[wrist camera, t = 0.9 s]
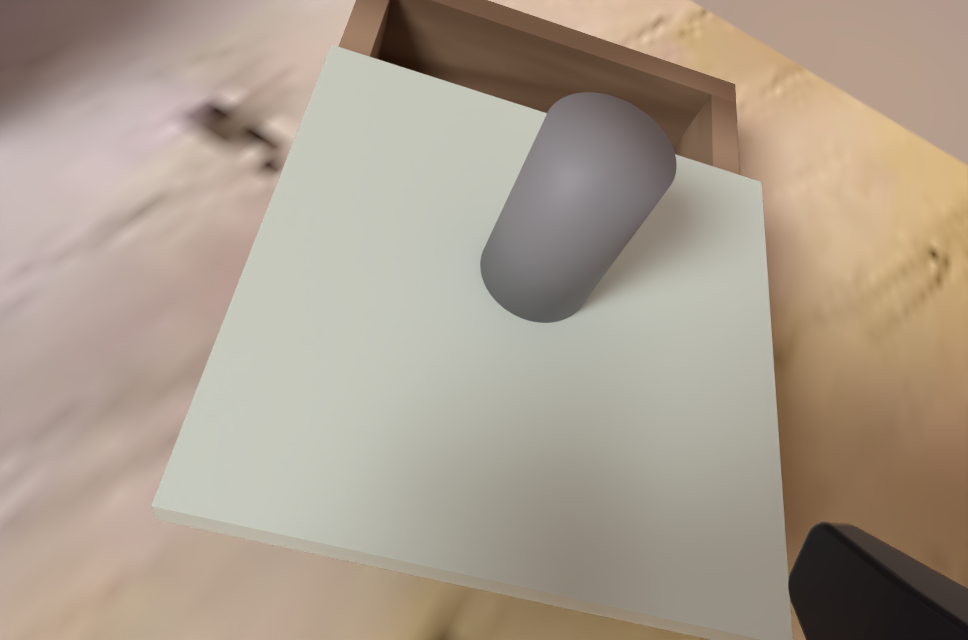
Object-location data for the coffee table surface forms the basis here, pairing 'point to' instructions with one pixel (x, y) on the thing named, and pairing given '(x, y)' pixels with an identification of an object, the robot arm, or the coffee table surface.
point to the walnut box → (546, 67)
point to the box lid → (501, 360)
